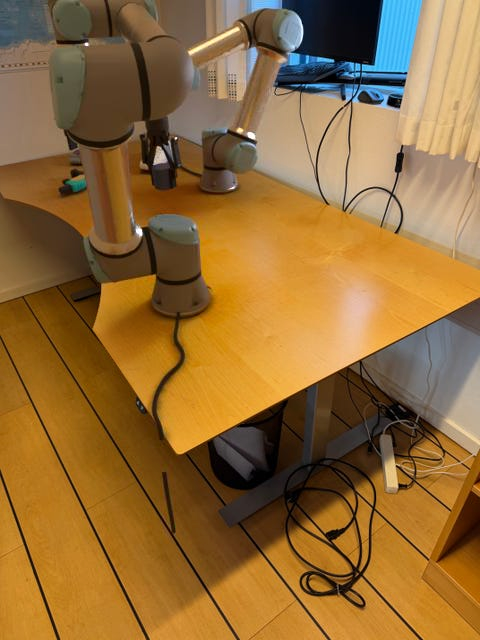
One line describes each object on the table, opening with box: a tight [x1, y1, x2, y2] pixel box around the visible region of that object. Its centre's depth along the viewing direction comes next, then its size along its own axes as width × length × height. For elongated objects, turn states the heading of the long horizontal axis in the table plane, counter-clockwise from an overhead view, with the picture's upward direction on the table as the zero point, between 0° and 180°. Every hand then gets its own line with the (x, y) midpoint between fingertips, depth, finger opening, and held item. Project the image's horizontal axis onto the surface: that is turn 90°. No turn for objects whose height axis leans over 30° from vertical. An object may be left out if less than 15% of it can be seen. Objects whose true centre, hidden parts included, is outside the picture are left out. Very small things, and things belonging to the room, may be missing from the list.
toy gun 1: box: [67, 148, 82, 165], centre depth 221 cm, size 4×19×15 cm
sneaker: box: [139, 134, 175, 171], centre depth 214 cm, size 10×29×12 cm, turn 163°
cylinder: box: [152, 162, 172, 192], centre depth 164 cm, size 7×7×7 cm
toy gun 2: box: [58, 168, 87, 196], centre depth 194 cm, size 4×26×15 cm
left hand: (93, 152), depth 128 cm, fingers open, 13 cm apart
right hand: (164, 185), depth 166 cm, fingers closed on cylinder, 7 cm apart
